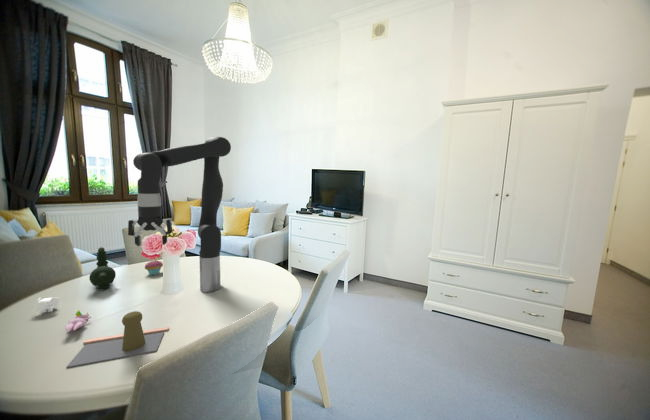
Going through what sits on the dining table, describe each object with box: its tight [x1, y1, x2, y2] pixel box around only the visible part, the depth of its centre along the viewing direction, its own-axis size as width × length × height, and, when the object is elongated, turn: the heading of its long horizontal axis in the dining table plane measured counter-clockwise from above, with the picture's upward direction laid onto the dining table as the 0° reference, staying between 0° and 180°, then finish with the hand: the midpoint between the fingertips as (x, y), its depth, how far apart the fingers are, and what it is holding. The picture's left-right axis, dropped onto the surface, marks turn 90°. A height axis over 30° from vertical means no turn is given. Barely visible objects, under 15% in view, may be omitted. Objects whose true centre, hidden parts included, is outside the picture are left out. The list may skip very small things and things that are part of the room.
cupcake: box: [144, 256, 164, 276], centre depth 140 cm, size 9×8×12 cm
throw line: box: [82, 326, 170, 345], centre depth 86 cm, size 24×2×1 cm, turn 111°
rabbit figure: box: [64, 310, 92, 333], centre depth 90 cm, size 6×6×15 cm
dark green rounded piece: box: [88, 247, 116, 291], centre depth 123 cm, size 9×19×25 cm
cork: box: [121, 310, 145, 351], centre depth 80 cm, size 6×6×11 cm
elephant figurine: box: [34, 296, 60, 314], centre depth 99 cm, size 7×8×6 cm
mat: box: [66, 331, 165, 369], centre depth 80 cm, size 22×10×1 cm, turn 111°
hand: (151, 244), depth 99 cm, fingers open, 8 cm apart
